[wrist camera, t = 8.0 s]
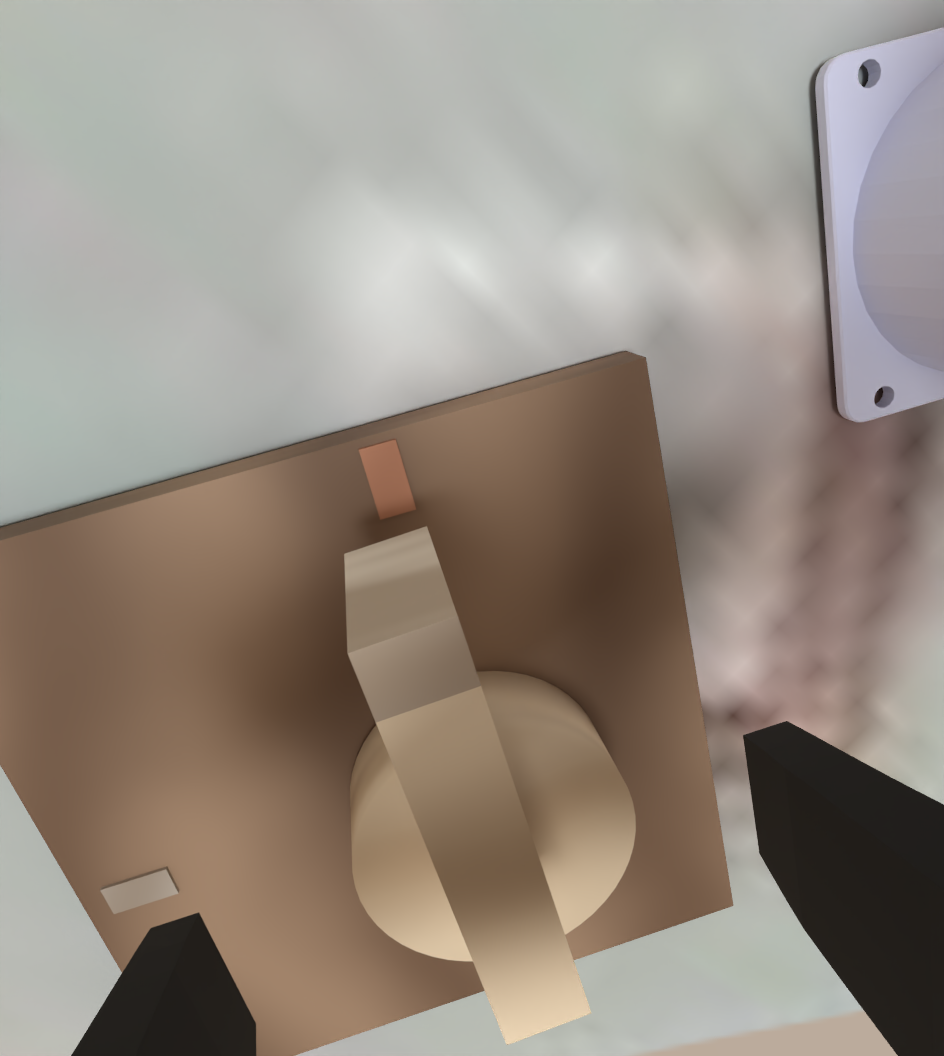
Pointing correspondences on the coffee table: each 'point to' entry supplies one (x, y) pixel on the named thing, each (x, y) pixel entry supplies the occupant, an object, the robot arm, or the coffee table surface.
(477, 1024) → the coffee table surface
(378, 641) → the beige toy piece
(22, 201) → the coffee table surface
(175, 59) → the coffee table surface
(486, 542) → the plate
